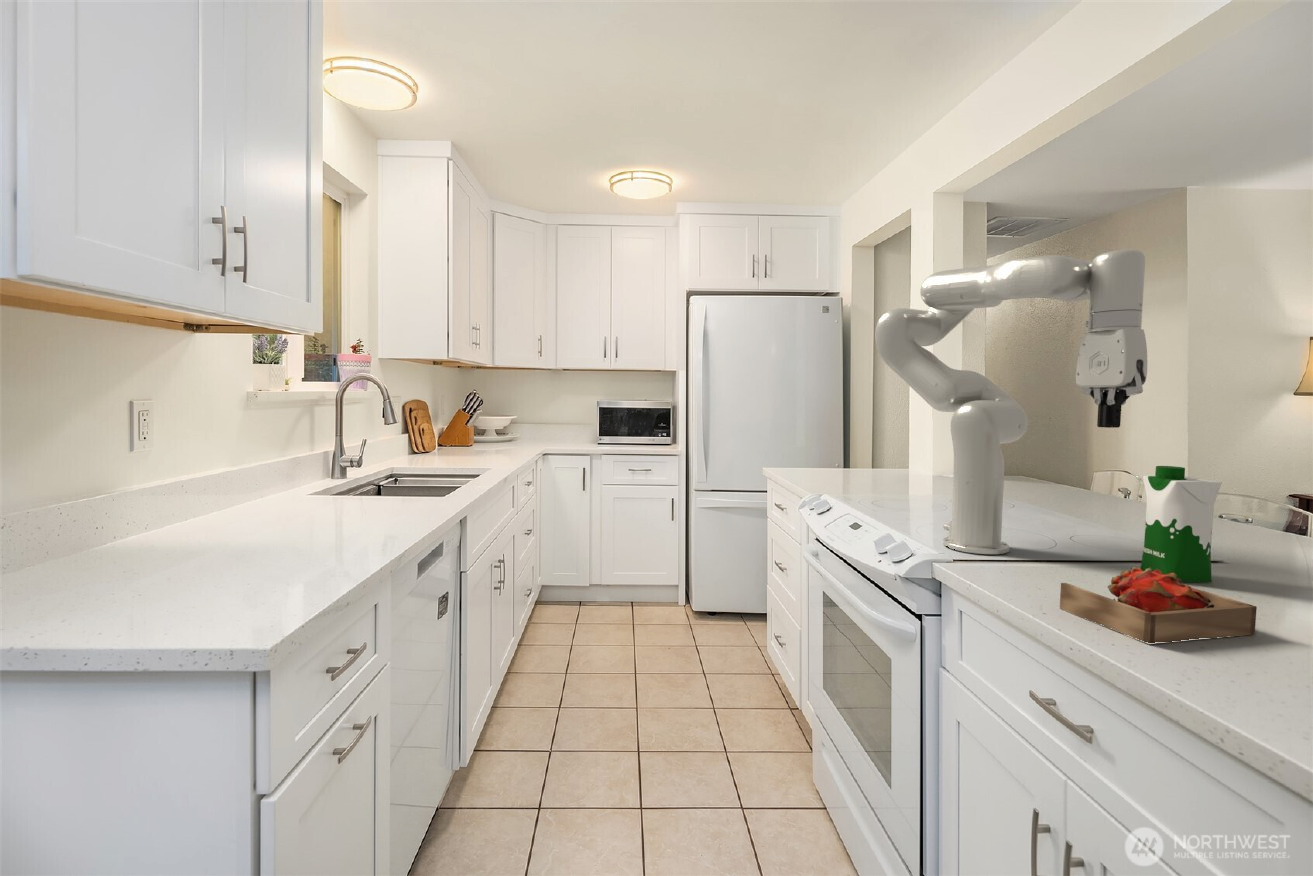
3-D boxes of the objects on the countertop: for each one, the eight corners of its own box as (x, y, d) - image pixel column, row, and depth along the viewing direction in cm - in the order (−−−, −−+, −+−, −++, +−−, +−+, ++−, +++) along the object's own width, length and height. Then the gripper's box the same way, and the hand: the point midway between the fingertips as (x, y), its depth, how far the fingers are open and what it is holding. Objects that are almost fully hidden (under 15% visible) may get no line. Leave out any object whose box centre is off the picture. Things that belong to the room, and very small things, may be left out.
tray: (1059, 608, 92) (1061, 583, 92) (1153, 601, 96) (1155, 576, 96) (1149, 645, 79) (1151, 615, 79) (1254, 635, 82) (1256, 606, 82)
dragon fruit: (1097, 621, 92) (1200, 651, 85) (1107, 602, 85) (1219, 634, 79) (1107, 570, 95) (1207, 596, 88) (1117, 549, 88) (1226, 575, 82)
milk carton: (1131, 569, 114) (1137, 464, 112) (1180, 570, 113) (1187, 464, 112) (1169, 584, 105) (1177, 470, 103) (1222, 584, 105) (1231, 470, 103)
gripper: (1060, 327, 113) (1055, 425, 114) (1138, 317, 98) (1131, 429, 100) (1093, 328, 114) (1088, 425, 116) (1175, 318, 100) (1168, 429, 101)
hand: (1108, 427), depth 108 cm, fingers closed
